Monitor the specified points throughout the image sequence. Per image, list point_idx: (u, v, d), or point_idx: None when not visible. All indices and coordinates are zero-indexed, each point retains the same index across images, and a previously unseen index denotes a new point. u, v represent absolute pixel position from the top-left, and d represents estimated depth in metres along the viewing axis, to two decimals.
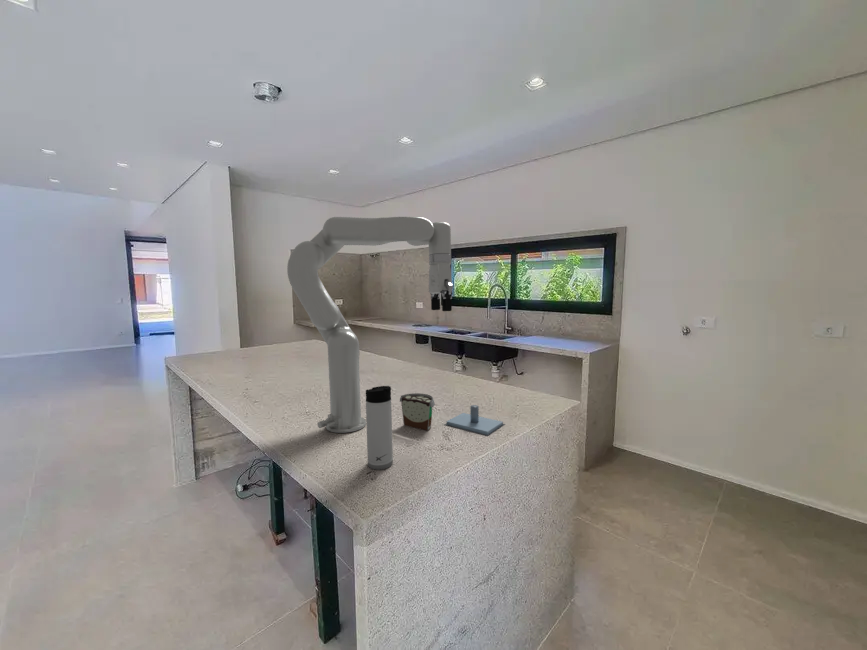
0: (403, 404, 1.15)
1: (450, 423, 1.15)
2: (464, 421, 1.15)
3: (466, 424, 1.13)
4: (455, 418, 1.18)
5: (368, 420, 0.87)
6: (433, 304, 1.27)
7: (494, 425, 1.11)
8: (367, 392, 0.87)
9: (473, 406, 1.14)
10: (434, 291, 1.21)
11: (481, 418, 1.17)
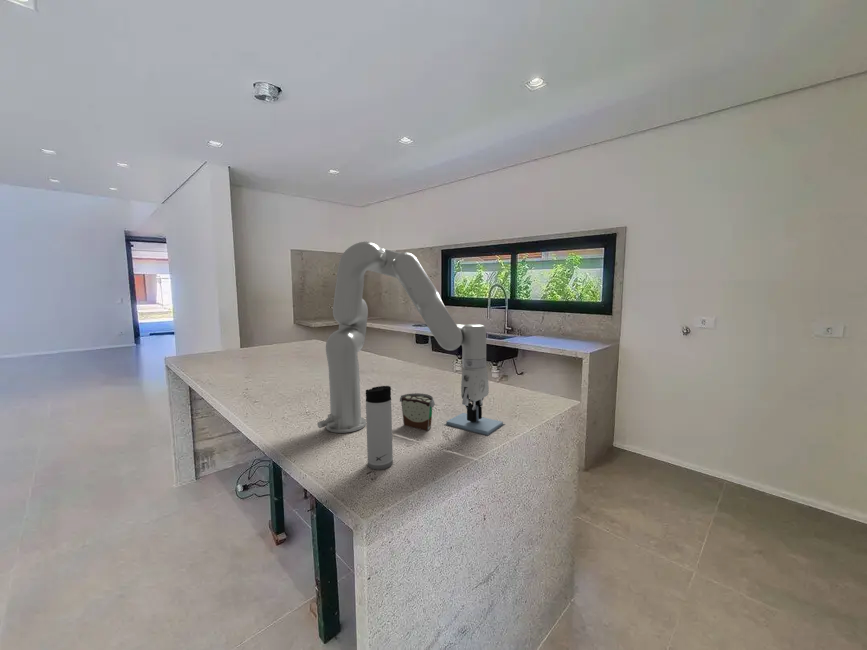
0: (403, 404, 1.15)
1: (450, 423, 1.15)
2: (464, 421, 1.15)
3: (466, 424, 1.13)
4: (455, 418, 1.18)
5: (368, 420, 0.87)
6: None
7: (494, 425, 1.11)
8: (367, 392, 0.87)
9: None
10: (483, 396, 1.14)
11: (481, 418, 1.17)
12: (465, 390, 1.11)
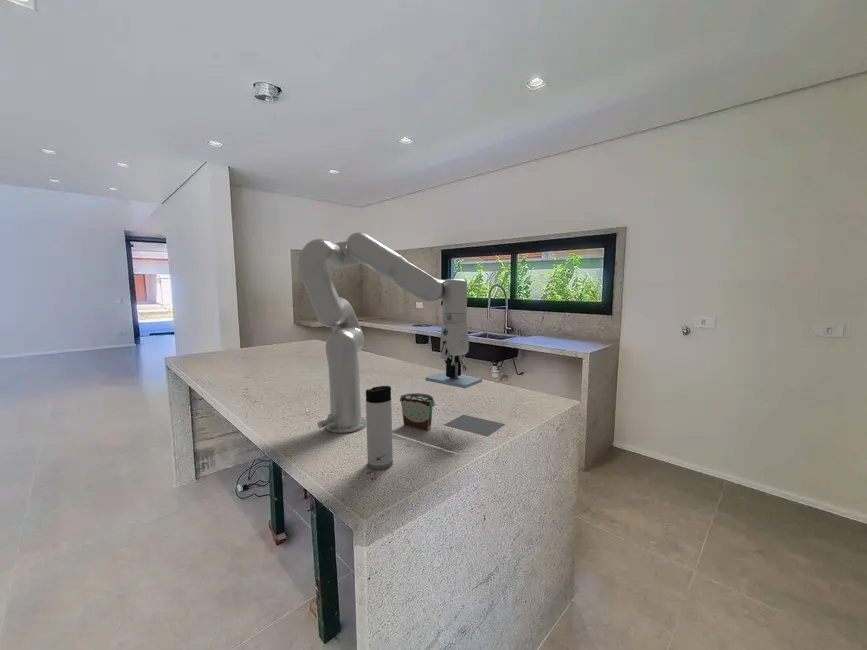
0: (403, 404, 1.15)
1: (429, 379, 1.14)
2: (443, 377, 1.14)
3: (445, 379, 1.11)
4: (435, 375, 1.17)
5: (368, 420, 0.87)
6: None
7: (473, 381, 1.10)
8: (367, 392, 0.87)
9: None
10: (463, 352, 1.12)
11: (461, 376, 1.16)
12: (444, 344, 1.09)
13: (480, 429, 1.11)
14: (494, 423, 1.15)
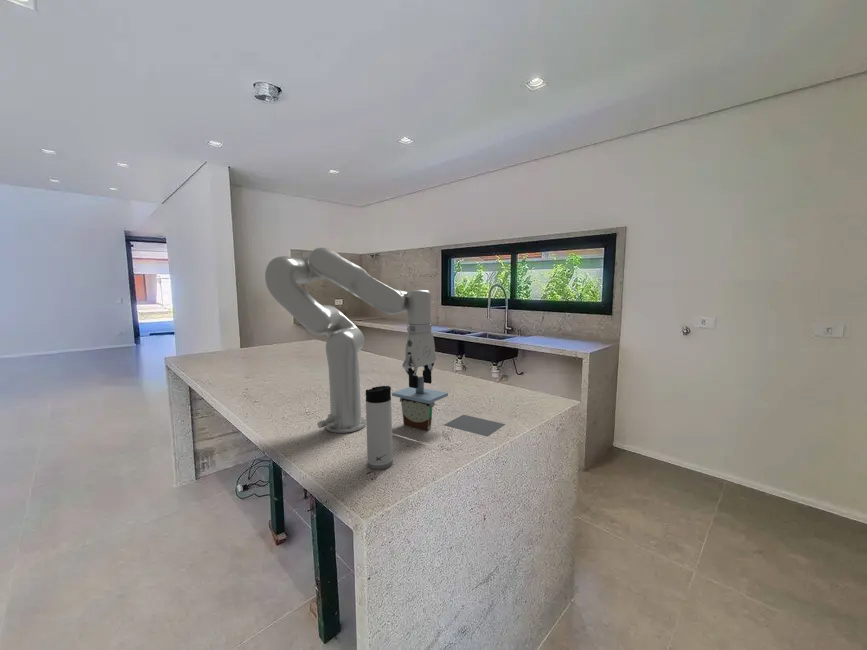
0: (403, 404, 1.15)
1: (395, 394, 1.14)
2: (409, 392, 1.15)
3: (410, 395, 1.12)
4: (402, 390, 1.18)
5: (368, 420, 0.87)
6: None
7: (438, 395, 1.11)
8: (367, 392, 0.87)
9: (418, 377, 1.14)
10: (429, 362, 1.13)
11: (428, 390, 1.17)
12: (408, 354, 1.10)
13: (480, 429, 1.11)
14: (494, 423, 1.15)
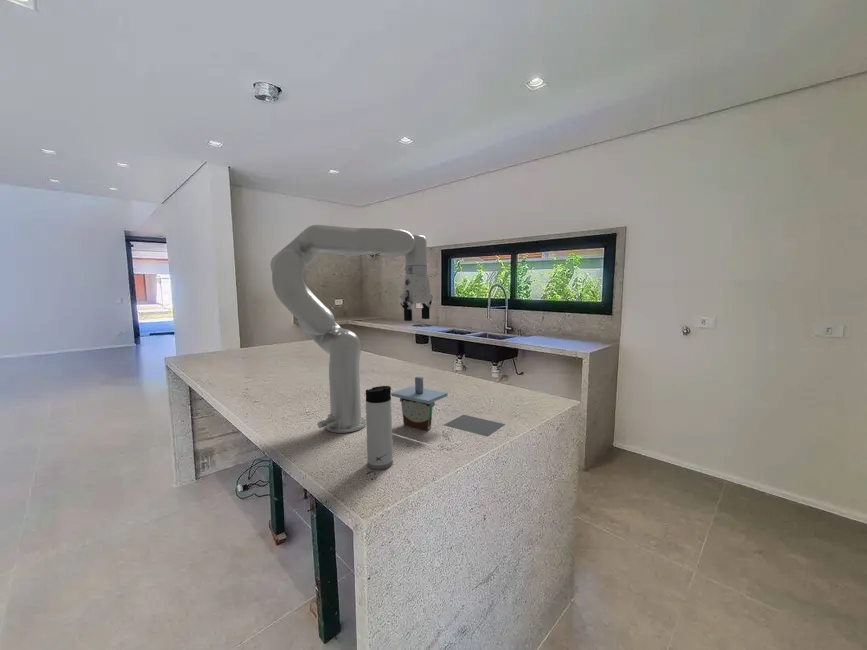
0: (403, 404, 1.15)
1: (395, 394, 1.14)
2: (409, 392, 1.15)
3: (410, 395, 1.12)
4: (401, 390, 1.17)
5: (368, 420, 0.87)
6: None
7: (437, 395, 1.11)
8: (367, 392, 0.87)
9: (418, 377, 1.14)
10: (425, 301, 1.26)
11: (427, 390, 1.17)
12: (406, 291, 1.23)
13: (480, 429, 1.11)
14: (494, 423, 1.15)
